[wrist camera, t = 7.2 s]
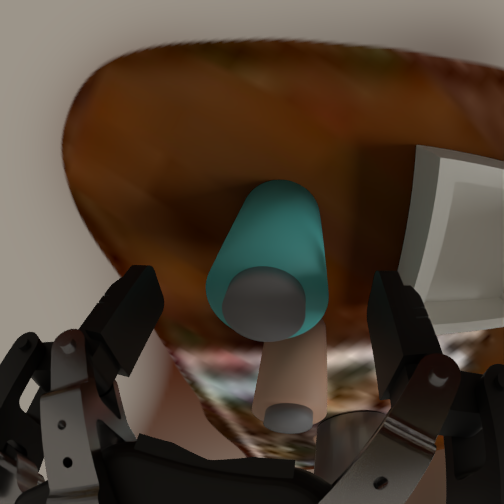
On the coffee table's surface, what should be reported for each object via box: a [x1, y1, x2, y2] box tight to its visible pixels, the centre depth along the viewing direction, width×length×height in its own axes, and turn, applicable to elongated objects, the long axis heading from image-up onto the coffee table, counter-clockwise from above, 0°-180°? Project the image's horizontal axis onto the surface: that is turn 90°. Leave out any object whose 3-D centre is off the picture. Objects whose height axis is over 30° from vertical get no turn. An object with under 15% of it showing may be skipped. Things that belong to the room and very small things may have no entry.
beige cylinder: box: [252, 318, 327, 434], centre depth 17 cm, size 4×4×8 cm
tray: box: [397, 145, 504, 335], centre depth 13 cm, size 11×11×3 cm
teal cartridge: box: [206, 180, 329, 342], centre depth 13 cm, size 4×4×8 cm
